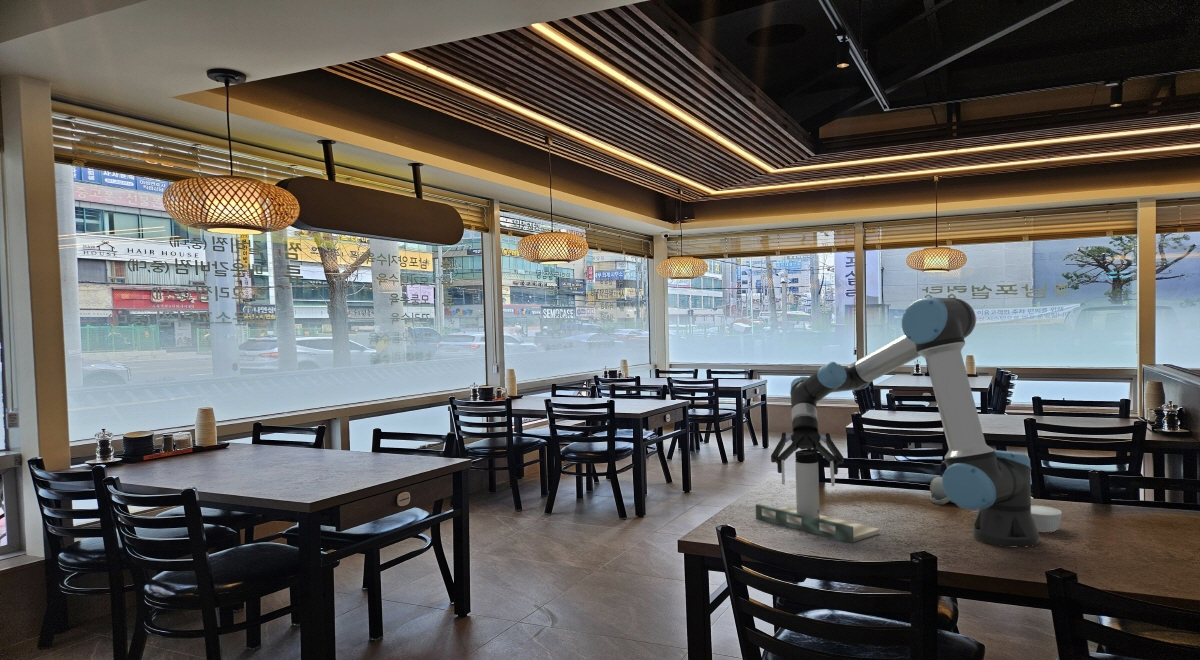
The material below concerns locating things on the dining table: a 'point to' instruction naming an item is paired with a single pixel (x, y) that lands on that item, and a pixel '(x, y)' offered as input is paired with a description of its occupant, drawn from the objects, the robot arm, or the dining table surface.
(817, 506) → the travel mug
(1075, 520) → the dining table surface
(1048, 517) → the ramekin
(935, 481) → the ceramic mug
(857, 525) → the shelf
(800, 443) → the robot arm
